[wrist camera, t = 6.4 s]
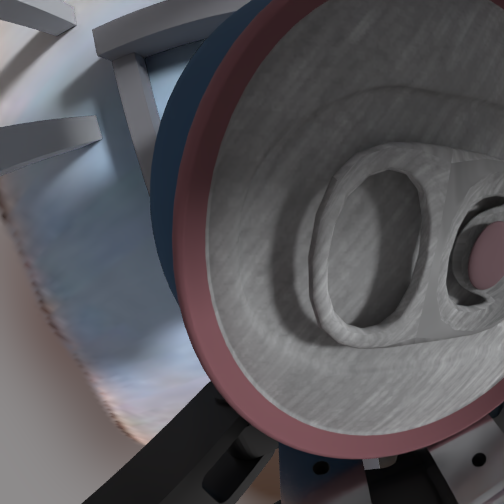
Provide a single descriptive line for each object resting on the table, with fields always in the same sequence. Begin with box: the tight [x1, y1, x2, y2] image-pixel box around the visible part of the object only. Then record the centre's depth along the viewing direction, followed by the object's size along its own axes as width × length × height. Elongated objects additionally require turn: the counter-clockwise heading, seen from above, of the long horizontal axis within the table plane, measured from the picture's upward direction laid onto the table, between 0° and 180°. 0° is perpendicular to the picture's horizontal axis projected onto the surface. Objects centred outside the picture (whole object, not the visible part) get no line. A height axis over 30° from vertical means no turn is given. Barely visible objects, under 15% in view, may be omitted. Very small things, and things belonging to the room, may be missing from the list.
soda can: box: [150, 0, 504, 459], centre depth 8 cm, size 7×7×12 cm
